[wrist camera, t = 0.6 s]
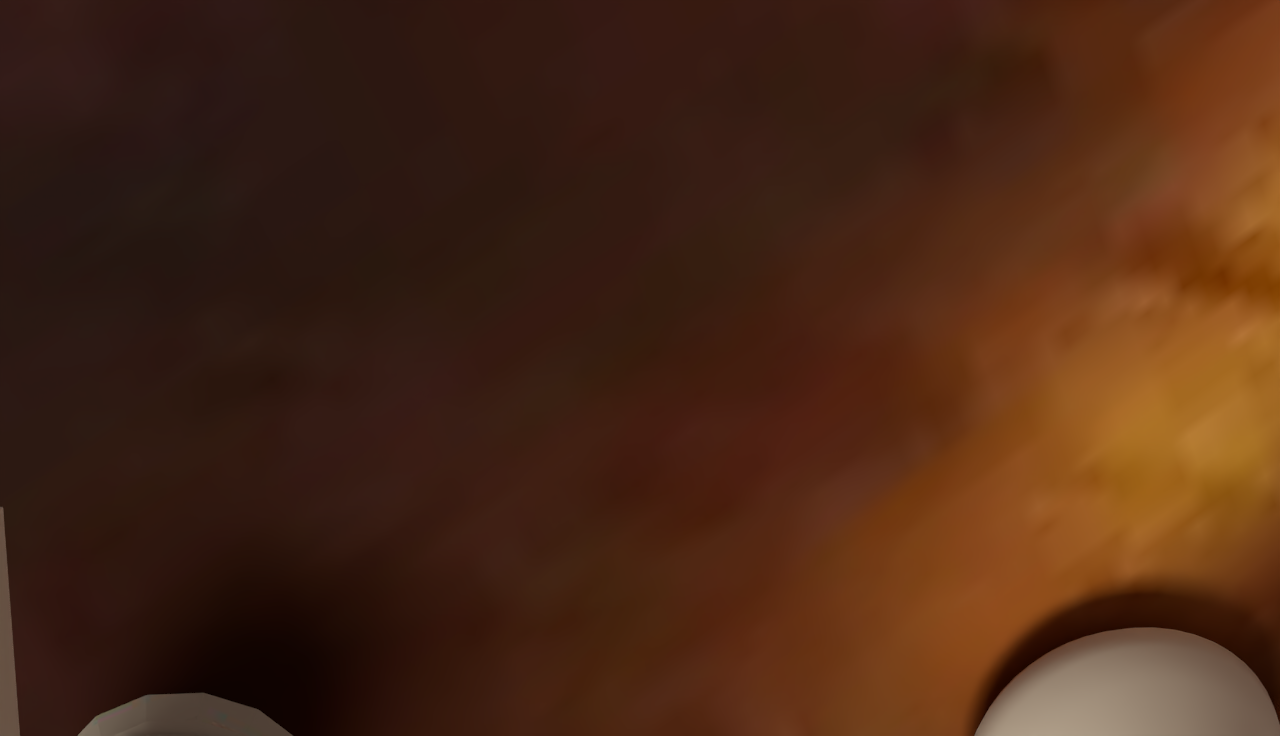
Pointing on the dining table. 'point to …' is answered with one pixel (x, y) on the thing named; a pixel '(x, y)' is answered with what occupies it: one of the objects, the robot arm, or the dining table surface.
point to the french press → (183, 718)
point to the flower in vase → (1134, 690)
